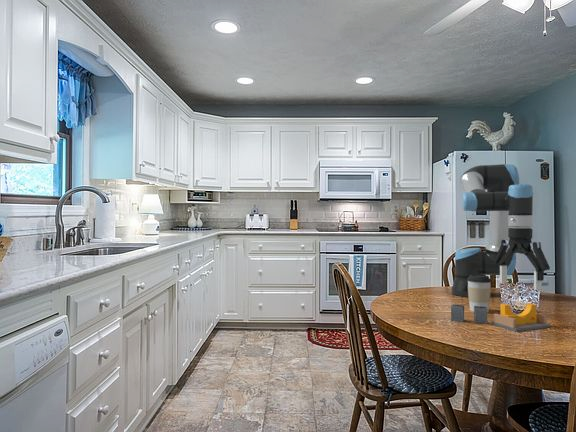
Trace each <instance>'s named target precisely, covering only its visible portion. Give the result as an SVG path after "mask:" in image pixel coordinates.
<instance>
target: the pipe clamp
mask: <svg viewBox="0 0 576 432" xmlns="http://www.w3.org/2000/svg"><path fill="white" fill-rule="evenodd" d="M537 308H538V307H537V304H536V303H532V302H531V303H530V302H529V303H526V306H525V309H524V310H522V312H520V313H518V314H515V313H514V312H513V311H512V309H511V304H507V303H500V315H503V316H507V317H510V318H514V319H516V325H523V324H526V323H537V313H538V312H537Z"/></svg>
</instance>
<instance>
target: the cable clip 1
mask: <svg viewBox="0 0 576 432" xmlns="http://www.w3.org/2000/svg"><path fill="white" fill-rule="evenodd" d="M450 309H451V310H450V321H451V322H458V323H463V322H464V321H465V305H463V304H455V303H453V304H451V305H450Z"/></svg>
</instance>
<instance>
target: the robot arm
mask: <svg viewBox="0 0 576 432" xmlns="http://www.w3.org/2000/svg"><path fill="white" fill-rule="evenodd" d="M518 171H519V170H518V168H517V166H516V165H515V164H509V163H508V164H506V163H503V164H488V165H487V164H486V165H484V164H482V165H481V164H480V165H475V166H473V167H470V168H469V169H467V170H466V171H464V172H463V174H462V175H461V176H460V186H461V187H462V189H464V191H465V192H463V194H462V201H461V202H462V210H463V211H466V212H489V240H488V243H489V244H488V245H486V246H485V250H482V249H481V248H480V247H469V248H461V249H457V250H456V251H455V256H454V267H455V268H454V280H453V284H452V287H451V288H450V289H451V290H450V292H451V295H455V296H459V297H464V298H465V297H466V298H469V296H468V280H467V278H468V277H470V275H475V274H483V275H485V276H488V275H489V276H499V284H507V283H508V276H511V275H513V273H514V271H515V269H516V266H517V254H520V255H521V254H523V255H524V256H525V257H526V258H527V259H528V260H529V262H530V264H532V266H533V268H534V269H535V270H533V271H534V272H533V290H534V291H541V290H542V287H543V285H542V282H543V281H544V279H545V278H544V277H545V275H544V273H545V271H549V270H550V268H551V267H550V265H549V262H548V260H547V258H546V256H545V254H544V252H543V249H542V243H541V242H540V241H534V242H533V241H532V239H533V232H534V231H533V228H531V227H533V225H534V224H533V223H534V220H533V218H534V217H533V206H534V204H533V203H534V201H533V199H534V192H533V186H532V185H531V184H527V183H526V184H525V183H524V184H523V183H522V184H520V176H519V172H518Z"/></svg>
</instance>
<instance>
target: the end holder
mask: <svg viewBox="0 0 576 432" xmlns="http://www.w3.org/2000/svg"><path fill="white" fill-rule="evenodd" d="M491 325H493V326H496V327H500V328H502V329H505V330H506V329H507V330H509V331H513V332H524V331H531V330H540V329H547V328H550V324H549V323H547V314H543V313H538V312H537V323H526V324H523V325H516V319H514V318H510V317H507V316H503V315H501V313H500V314H499V313H493V320H491Z"/></svg>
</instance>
